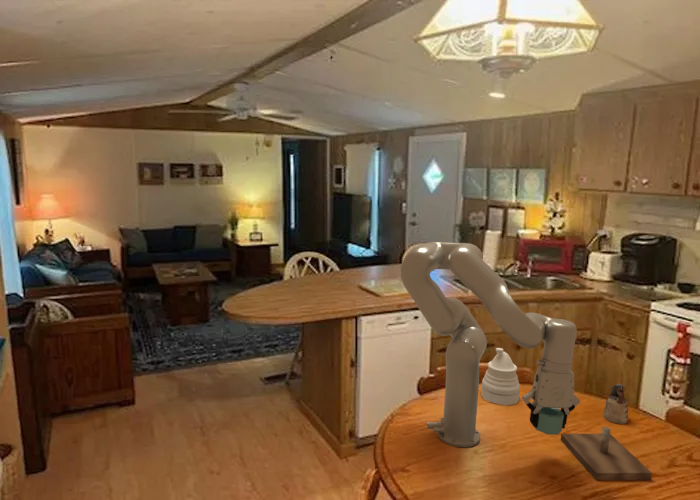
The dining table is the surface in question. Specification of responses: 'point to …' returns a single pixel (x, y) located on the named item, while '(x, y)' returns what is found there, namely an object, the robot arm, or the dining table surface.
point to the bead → (550, 420)
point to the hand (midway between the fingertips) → (547, 425)
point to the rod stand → (605, 456)
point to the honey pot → (501, 380)
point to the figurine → (616, 406)
